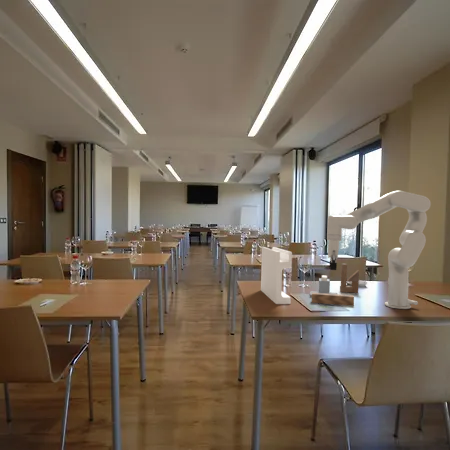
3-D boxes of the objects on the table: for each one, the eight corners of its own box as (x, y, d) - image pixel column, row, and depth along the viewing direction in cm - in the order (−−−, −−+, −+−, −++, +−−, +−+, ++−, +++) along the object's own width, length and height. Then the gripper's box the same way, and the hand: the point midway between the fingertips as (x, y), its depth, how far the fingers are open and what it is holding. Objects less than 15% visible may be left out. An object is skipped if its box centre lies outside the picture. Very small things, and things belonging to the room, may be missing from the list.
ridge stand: (337, 295, 209) (337, 275, 208) (338, 299, 197) (339, 278, 197) (310, 293, 213) (310, 274, 212) (309, 297, 201) (310, 277, 201)
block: (260, 290, 218) (261, 246, 218) (273, 290, 219) (274, 246, 219) (276, 304, 183) (277, 252, 183) (290, 303, 185) (292, 252, 184)
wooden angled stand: (358, 293, 216) (359, 264, 216) (340, 292, 218) (341, 264, 218) (357, 292, 220) (357, 264, 220) (339, 291, 222) (340, 263, 221)
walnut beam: (352, 304, 188) (353, 295, 188) (353, 306, 184) (354, 297, 184) (311, 301, 193) (311, 292, 193) (311, 302, 189) (311, 293, 189)
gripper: (326, 236, 198) (325, 266, 198) (327, 238, 181) (326, 270, 181) (340, 237, 196) (339, 267, 196) (342, 238, 179) (341, 271, 179)
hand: (332, 268), depth 189 cm, fingers open, 9 cm apart
